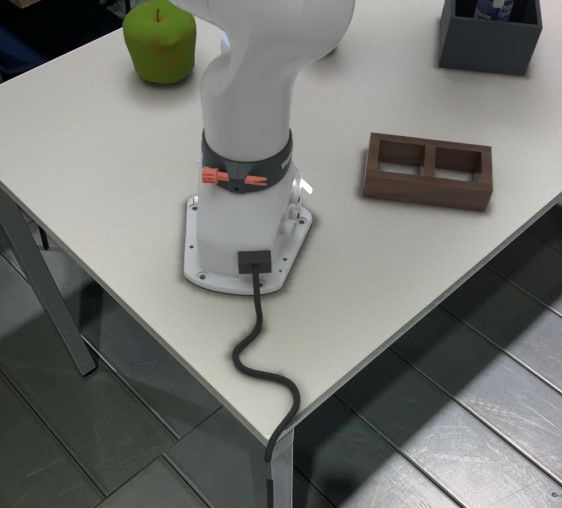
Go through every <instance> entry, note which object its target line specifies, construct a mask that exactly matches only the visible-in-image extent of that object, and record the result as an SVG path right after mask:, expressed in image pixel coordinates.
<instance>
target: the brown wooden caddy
mask: <svg viewBox="0 0 562 508" xmlns="http://www.w3.org/2000/svg"><path fill="white" fill-rule="evenodd" d="M367 146H368V147H367V152H366V161H365V169H364V176H363V183H362V192H361V197H363V198H373V199H379V200H380V199H381V200H388V201H397V202H405V203H413V204H422V205H429V206H435V207H444V208H453V209H461V210H467V211H469V210H470V211H478V212H486V210H487V207H488V205H489V203H490V200H491V198H492V195H493V193H494V180H493V179H494V178H493V176H494V175H493V152H492V151H493V150H492V147H493V146H491V145H483V144H474V143H467V142H459V141H448V140H441V139H432V138H422V137H417V136H416V137H414V136H408V135H407V136H406V135H400V134H399V135H398V134H389V133H382V132H381V133H380V132H373V131H371V132H370V135H369V141H368V145H367ZM379 162H385V163H386V162H387V163H393V164H402V165H410V166H418V167H419V173H418V174H413V173H403V172H396V171H387V170H379V169H378V164H379ZM436 169H441V170H442V169H443V170H451V171H460V172H466V173H467V172H468V173H473V181H470V180H461V179H453V178H446V177H437V176H435V172H436Z"/></svg>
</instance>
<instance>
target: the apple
mask: <svg viewBox="0 0 562 508" xmlns="http://www.w3.org/2000/svg"><path fill="white" fill-rule="evenodd" d="M196 22H197V21H196V19H195V16H194V15H191V14H189V13H187V12H185V11H183V10H181V9H179V8H177V7H176V6H175V5H173V4H172V3H171V2H170V1H168V0H148V1H145V2H142V3H140V4H137V5H136V6H135V7H134V8H132V9H131V10H129V11H128V12H127V14H126V15H125V17H124V19H123V21H122V24H121V26H122V34H123V40H124V44H125V46H126V48H127V51H128V53H129V56H130V58H131V62H132V65H133V69H134V71H135V73H136V74H137V75H138V76H139V77H140V78H141V79H144V80H146V81H148V82H150V83H156V84H160V85H163V86H165V85H172V84H176V83H178V82H180V81H182V80H183V79H184V78H185V77H187V76H188V75H189V74H191V72H192V71H193V69H194V68H195V64H196V46H197V36H198V35H197V23H196Z"/></svg>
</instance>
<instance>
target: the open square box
mask: <svg viewBox="0 0 562 508" xmlns="http://www.w3.org/2000/svg"><path fill="white" fill-rule="evenodd" d="M477 2H478V0H444V3H443V7H442V11H441V15H440V20H439V41H438V67H439V68H448V69H456V70H465V71H475V72H485V73H493V74H502V75H510V76H511V75H512V76H518V77H525V76H526V73H527V70H528V68H529V66H530V63H531V61H532V58H533V55H534V52H535V50H536V47H537V45H538V42H539V39H540V36H541V34H542V32H543V27H544V26H543V17H542V9H541V1H540V0H514V2H513V5H512V9H511V12H510V16H509V19H508V22H505V21H495V20H486V19H476V18H474V14H475V10H476V6H477Z"/></svg>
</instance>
